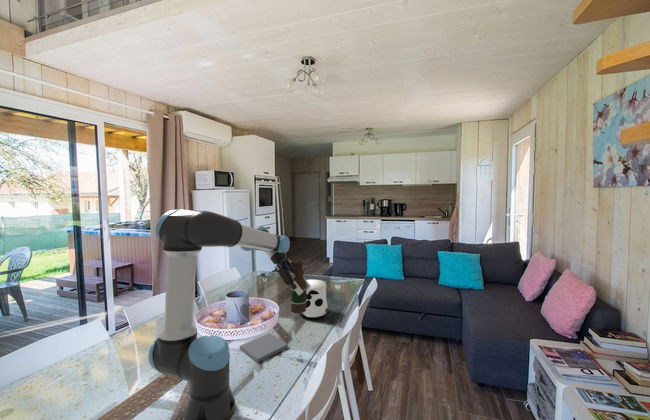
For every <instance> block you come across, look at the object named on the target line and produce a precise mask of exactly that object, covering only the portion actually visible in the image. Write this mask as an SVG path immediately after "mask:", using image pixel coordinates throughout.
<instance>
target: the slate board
mask: <svg viewBox="0 0 650 420" xmlns="http://www.w3.org/2000/svg"><path fill="white" fill-rule="evenodd" d="M288 346H289V344H288V343H286V341H283V340H282V339H281V338H279V337H277V336H275V335H274V334H272V333H271V332H269V333H266V334H263V335H262V336H259V337H257V338H255V339H252V340H250V341H248V342H246V343H245V342H244V343H243V344H241V345H239V349H240V350H241V351H242V353H244V354H246V355H247V357H249V358H251V360H253V361H255V363H260V362H261V361H264V360H266V359H268V358H270V357H272V356H273V355H276V354H277V353H279V352H281V351H283V350H286V349H288Z"/></svg>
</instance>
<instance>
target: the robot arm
mask: <svg viewBox="0 0 650 420" xmlns="http://www.w3.org/2000/svg"><path fill="white" fill-rule="evenodd" d="M155 225H156V226H155V234H156V235H155V236H156V237H157V238H158V240H159V241H160V242H161V243H162V251H163V253H165V254H166V255H167V263H166V265H167V266H166V280H165V282H166V283H165V299H164V301H165V303H164V319H163V328H162V329H161V330H160V331H159V332H158V334H157V337H156V338H155V339H154V340H153V344H152V345H150V347H149V351H148V363H149V366H151V368H152V369H153V370H155V371H157V372H158V373H160V374H163V375H168V376H171V377H174V378H176V379H180V380H183V381H185V382H188V383H189V397H188V400H187V403H186V405H185V408H184V412H183V413H184V414H183V420H232V417H233V416H234V414H235V412H236V399H235V396H234V393H233V391H232V388H231V386H230V360H231V358H230V357H231V355H230V348H229V343H228V342H227V341H226V339H224V338H223V337H222V336H218V335H214V334H212V335H209V336H208V335H202V336H200V337H198V328H197V327H196V326H195V325H194V309H195V293H196V292H195V291H196V290H195V289H196V288H195V287H196V271H197V270H196V269H197V256H198V254H199V253H200V252H201V251H202V249H203V248H206V247H223V248H234V247H235V246H237V247H240V248H241V249H242V251H244V252H248V251H249V252H251V251H260V252H261V251H263V252H264V253H265V254H266V255H267V257H268V258H270V261H271V262H272V263H273V264H274V265H275V266H274V269H275V271H276V272H277V273H278V275H279V276H280V277H281V280H282V281H283V282H284V284H285V285H286V286H290V287H291V286H292V288H293V289H294V290H295V291H296V293H297V294H298V295H300V294H302V293H303V291H302V289H301V288H300V287H299V285H298V284H297V283H296V282H295V281H293V279H294V278H293V277H292V275H291V273H292V274H294V276H295V270H296V263H295V261H294V260H293V258H290V259H289V258H288V257H287V252H288V251H289V249H290V246H291V245H290V244H291V241H290V238H289V237H288V236H286V235H279V234H274V233H271V232H270V231H269V230H268V229H267V228H266V227H265V226H263V225H260V226H258V227H257V228H253V227H251V226H247V225H244V224H241V222H240V221H239V220H237V219H234V218H231V217H229V216H225V215H223V214H219V213H216V212H214V211H208V210H194V209H193V210H192V209H181V208H179V209H172V210H168V211H167V212H165V213H164V214H162V215H161V216H160V218H158V220H157V223H156V224H155ZM304 273H305V272H304V271H303V278H304V279H305V282H306V287H307V289H308V288H310V287H311V286H310V284H309V283H308V282H307V281H306V280H307V279H306V278H305V276H304Z"/></svg>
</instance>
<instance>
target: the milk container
mask: <svg viewBox="0 0 650 420" xmlns="http://www.w3.org/2000/svg"><path fill="white" fill-rule="evenodd" d="M306 281H307V282H308V283H309V284H310V286H311V287H310V288H308V289H307V293H306V311H305V312H303V313H298V314H299V315H300V316H302V317H305V318H308V319H317V318H321V317H323V316H324V315H326V314H327V311H328V301H327V283H326V281H324V280H320V279H306Z"/></svg>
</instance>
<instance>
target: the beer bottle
mask: <svg viewBox="0 0 650 420" xmlns="http://www.w3.org/2000/svg"><path fill="white" fill-rule="evenodd" d="M294 263H295V264H296V270H295V275H294V277H293V278H292V279H293V281H295V282H296V283H297V284H298V285H299V287H300V288H301V289H302V291H303V293H302V294H300V295H298V294H297V293H296V291H295V290H294V289H293V288H292V286H291V285H290V312H292V313H293V314H299V313H303V312H305V311H306V293H307V287H306V282H305V279H306V278H305V277H304V275H303V272H304V270H303V266H304V265H303V264H304V262H303V260H300V259H299V260H295V261H294ZM303 277H304V278H305V279H304V278H303Z"/></svg>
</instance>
